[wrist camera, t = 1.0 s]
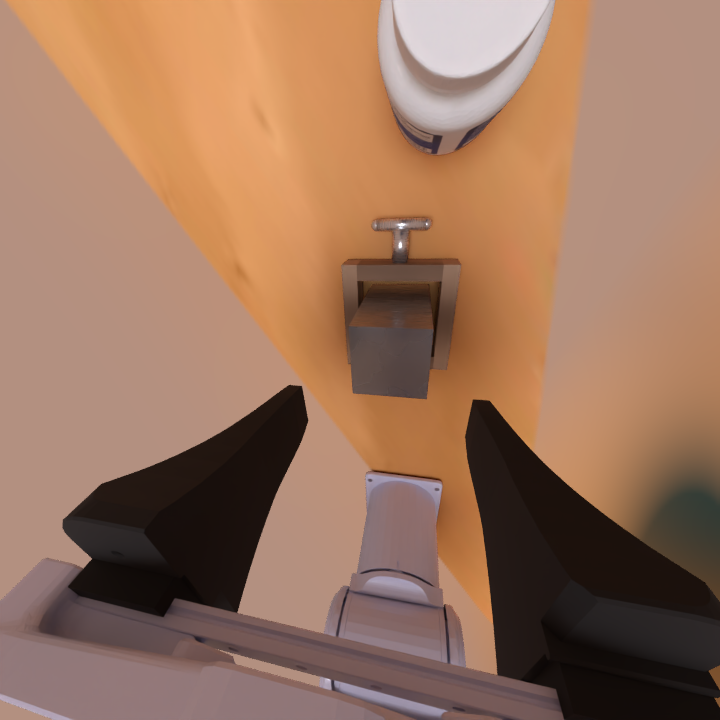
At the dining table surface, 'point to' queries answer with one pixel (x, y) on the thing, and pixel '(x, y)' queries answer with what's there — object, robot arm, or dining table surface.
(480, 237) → the dining table surface
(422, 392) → the steel post
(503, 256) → the dining table surface
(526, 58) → the pill bottle
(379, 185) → the dining table surface
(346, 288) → the walnut clamp block
